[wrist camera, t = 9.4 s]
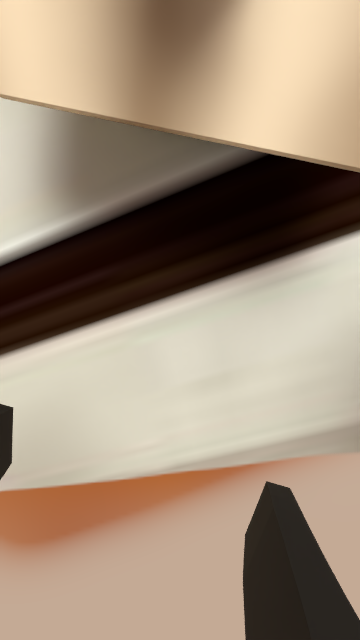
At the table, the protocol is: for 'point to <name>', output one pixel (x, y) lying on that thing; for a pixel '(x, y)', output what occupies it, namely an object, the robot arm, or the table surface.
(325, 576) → the robot arm
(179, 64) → the lid
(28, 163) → the table surface
